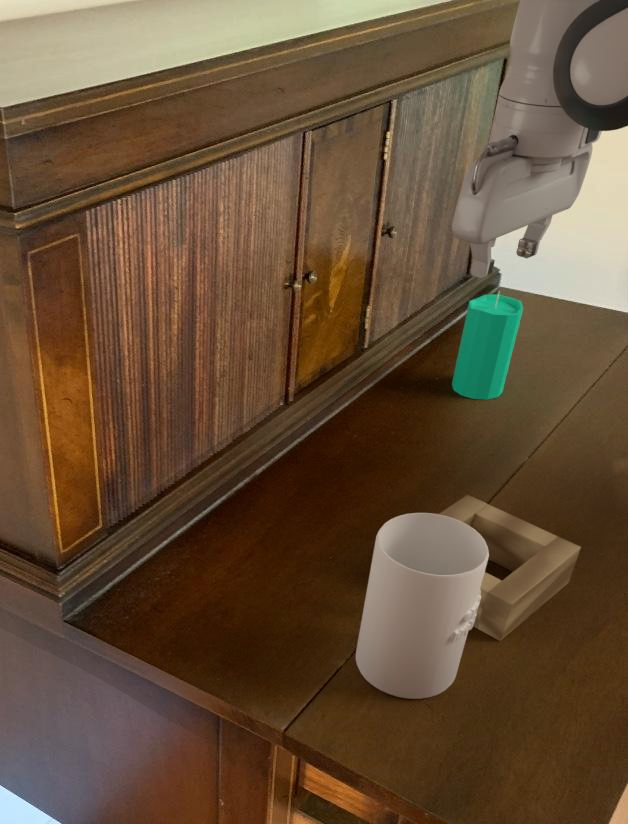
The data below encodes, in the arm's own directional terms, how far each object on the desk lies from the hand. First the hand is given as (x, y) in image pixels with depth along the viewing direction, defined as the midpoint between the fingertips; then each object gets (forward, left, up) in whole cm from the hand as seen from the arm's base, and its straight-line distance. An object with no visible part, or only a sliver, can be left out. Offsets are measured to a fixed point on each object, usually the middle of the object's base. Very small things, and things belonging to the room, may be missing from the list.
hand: (503, 265), depth 102 cm
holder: (-21, +33, -15) cm, 42 cm away
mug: (-22, +45, -15) cm, 52 cm away
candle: (0, 0, -15) cm, 15 cm away
